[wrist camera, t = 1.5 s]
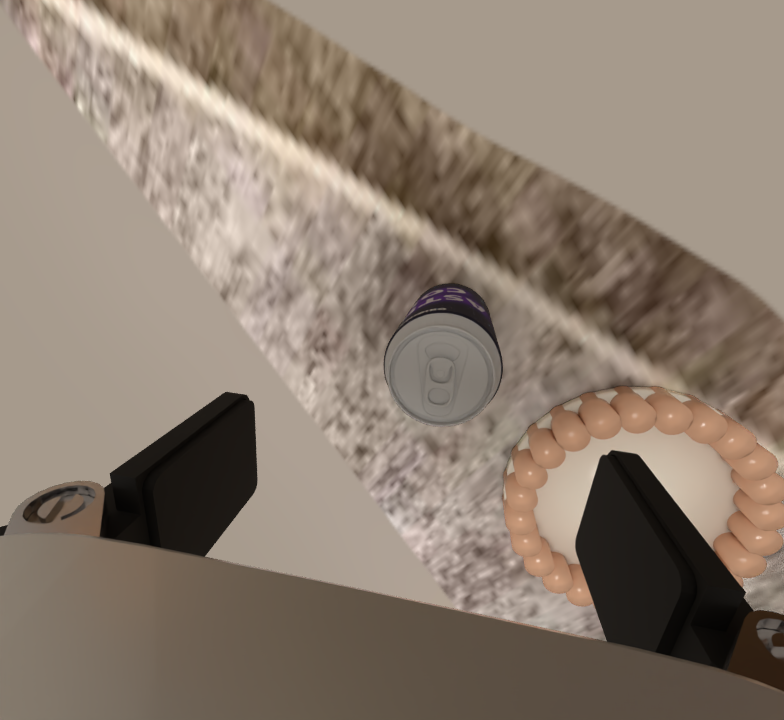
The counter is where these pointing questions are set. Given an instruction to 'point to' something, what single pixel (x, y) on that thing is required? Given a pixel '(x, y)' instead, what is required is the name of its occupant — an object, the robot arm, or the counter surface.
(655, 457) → the round dish
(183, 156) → the counter surface
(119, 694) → the robot arm
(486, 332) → the beverage can
